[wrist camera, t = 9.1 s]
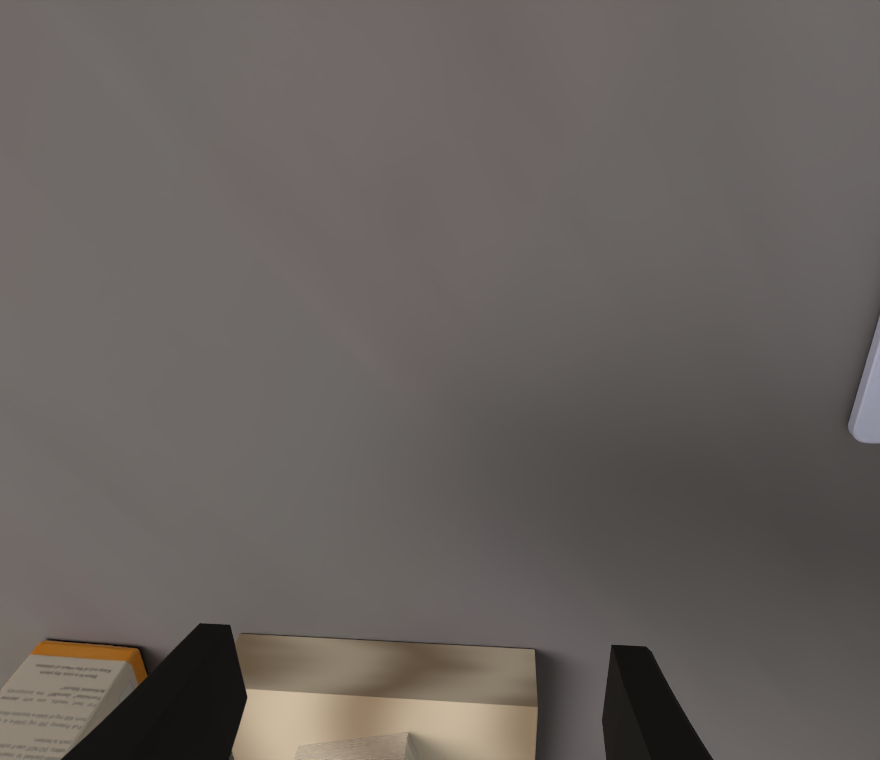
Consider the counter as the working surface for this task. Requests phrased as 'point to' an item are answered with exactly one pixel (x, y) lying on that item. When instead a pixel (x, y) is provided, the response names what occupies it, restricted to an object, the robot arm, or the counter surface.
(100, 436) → the counter surface
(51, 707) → the supplement box
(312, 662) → the stand
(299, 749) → the block
